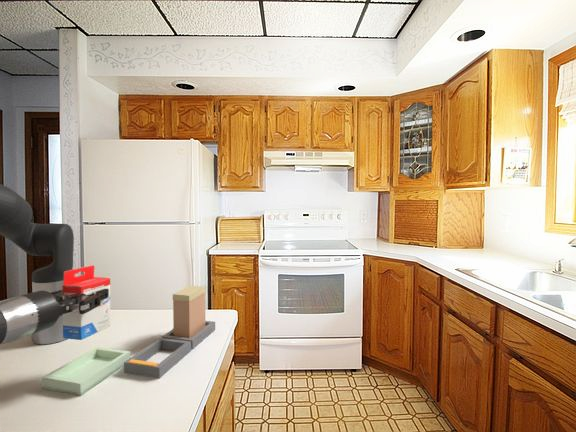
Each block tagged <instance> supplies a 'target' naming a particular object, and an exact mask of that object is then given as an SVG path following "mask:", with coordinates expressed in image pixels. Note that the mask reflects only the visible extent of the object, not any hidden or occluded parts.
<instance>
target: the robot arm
mask: <svg viewBox="0 0 576 432" xmlns="http://www.w3.org/2000/svg"><path fill="white" fill-rule="evenodd" d="M32 219H33V209H32V206H31V204H30V203H29V202H28V201H27V200H26V199H25V198H24V197H23V196H21V195H20V194H19V193H18V192H16V191H15V190H14V189H12V188H10V187H8V186H7V185H4V184H1V183H0V235H1V236H2V237H4V238H5V239H7V240H9V241H11V242H12V243H14V244H15V245H16V246H17V247H18V248H20V249H21V250H22V251H24V252H25V253H26V254H27V255H30V256H35V257H53V259H52V262H51V263H50V264H49V265H46V266H43V267H40V268H38V269H35V270H33V271H32V273H31V283H32V284H31V286H32V290H31V291H32V292H30V293H29V292H28V293H25V294H20V295H19V296H15V297H11V298H7V299H3V300H0V346H3V345H6V344H11V343H14V342H17V341H19V340H22V339H24V338H26V337H29V336H31V340H32V341H33V343H34V344H37V345H49V344H55V343H59V342H62V341H65V340H67V339H66V338H63V315H67V314H70V313H71V312H75V311H79V314H85V313H87V312H89V311H91V310H93V309H94V308H96V307H98V306H100V305H101V300H104V299H106V298H108V297H109V290H108V289H102V290H99V291H96V292H92V293H88V294H84V293H76V294H72V295H67V294H66V295H64V292H62V286H63V278H64V277H63V276H64V272H65V271H69V270H73V269H74V245H75V244H74V243H75V240H74V239H75V237H74V231H73V228H72V226H71V225H70V224H67V223H35V222H33V220H32ZM77 297H80V301H79V304H78V299H77ZM86 297H88V298H86ZM85 298H86V299H85Z"/></svg>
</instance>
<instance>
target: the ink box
mask: <svg viewBox="0 0 576 432" xmlns="http://www.w3.org/2000/svg"><path fill="white" fill-rule="evenodd" d="M79 272H81V273H84V274H82V275H77V276H75V275H76V274H79ZM63 277H64V278H63V286H62V292H64V295H66V294H67V295H72V294H76V293H84V294H88V293H92V292H96V291H99V290H102V289H108V290H109V297H108V298H106V299H104V300H101V305H100V306H98V307H96V308H94V309H93V310H91V311H89V312H87V313H85V314H79V311H75V312H71V313H70V314H67V315H63V338H66V339H65V340H76V341H78V340H79V341H82V340H84V339H87V338H88V337H91V336H92V335H95V334H98V333H100V332H101V331H103V330H105V329H108V328H110V327H111V278H110V277H103V276H102V277H99V276H95V265H94V264H92V265H88V266H83V267H77V268H73V269H72V270H69V271H65V272H64V276H63ZM86 298H88V297H86ZM86 298H85V299H86ZM77 299H78V304H79V301H80V297H77Z"/></svg>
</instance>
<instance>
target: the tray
mask: <svg viewBox="0 0 576 432" xmlns="http://www.w3.org/2000/svg"><path fill="white" fill-rule="evenodd" d="M130 358H131V351H130V350H129V351H128V350H121V349H115V348H106V347H99V346H96V347H94V348H92V349H90V350H88V351H87V352H85V353H83V354H82V355H80V356H78V357H76V358H75V359H72V360H71V361H69V362H66V364H63V365H61V366H60V367H58V368H57V369H54V370H52V371H50V372H49V373H47V374H45V375H43V376H42V377H41V383H42V384H41V385H42V387H41V388H42V389H43V390H48V391H53V392H54V391H55V392H59V393H65V394H69V395H77V396H82V395H84V394H85V393H87V392H88V391H90V390H91V389H93V388H94V387H96V386H97V385H99V384H100V383H101V382H103V381H105V379H107V378H109V377H111V376H112V375H113V374H114V373H115V372H117V371H119V370H120V369H122V368H124V362H125V361H127V360H128V359H130Z"/></svg>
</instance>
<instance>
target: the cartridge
mask: <svg viewBox="0 0 576 432" xmlns="http://www.w3.org/2000/svg"><path fill="white" fill-rule="evenodd" d="M206 291H207V290H206V286H198V285H188V286H187V287H184V288H183V289H180V290H178V291H177V292H174V293H173V294H172V301H173V303H172V305H173V306H172V307H173V308H172V309H173V311H172V312H173V315H172V316H173V317H172V318H173V321H172V322H173V329H174V336H177V337H185V338H192V337H193V336H194V335H195V334H197V333H198V332H199V331H200V330H202V329H203V328H204V327H205V321H206Z"/></svg>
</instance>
